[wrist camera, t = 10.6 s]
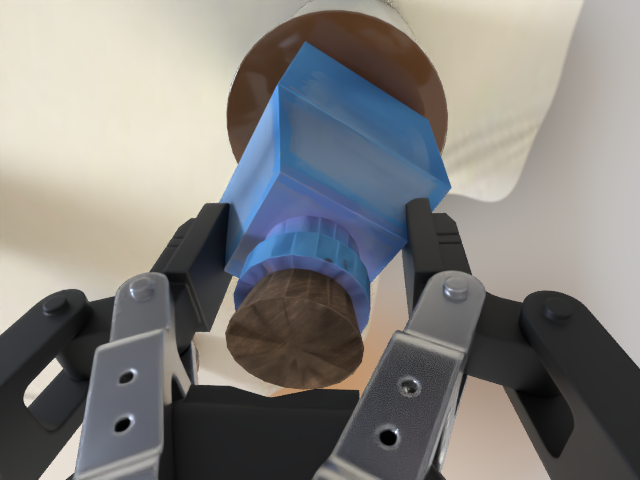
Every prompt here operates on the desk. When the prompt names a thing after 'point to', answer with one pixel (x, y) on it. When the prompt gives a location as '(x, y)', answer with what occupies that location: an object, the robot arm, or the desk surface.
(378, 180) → the perfume bottle
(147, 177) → the desk surface
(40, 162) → the desk surface
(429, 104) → the jar
